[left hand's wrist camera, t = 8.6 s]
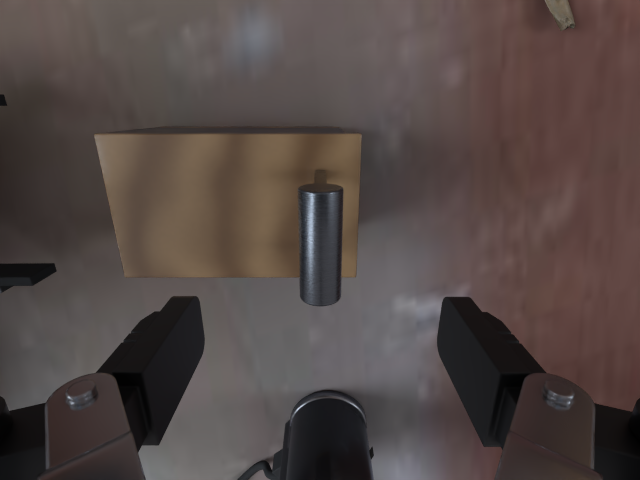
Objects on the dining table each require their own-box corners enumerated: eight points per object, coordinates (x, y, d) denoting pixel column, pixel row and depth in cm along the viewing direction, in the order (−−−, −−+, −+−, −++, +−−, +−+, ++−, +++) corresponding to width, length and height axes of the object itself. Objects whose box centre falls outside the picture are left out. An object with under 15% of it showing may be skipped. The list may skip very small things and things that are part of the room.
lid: (359, 132, 23) (382, 144, 15) (354, 270, 27) (370, 341, 18) (105, 132, 23) (-14, 144, 15) (133, 270, 27) (49, 341, 18)
